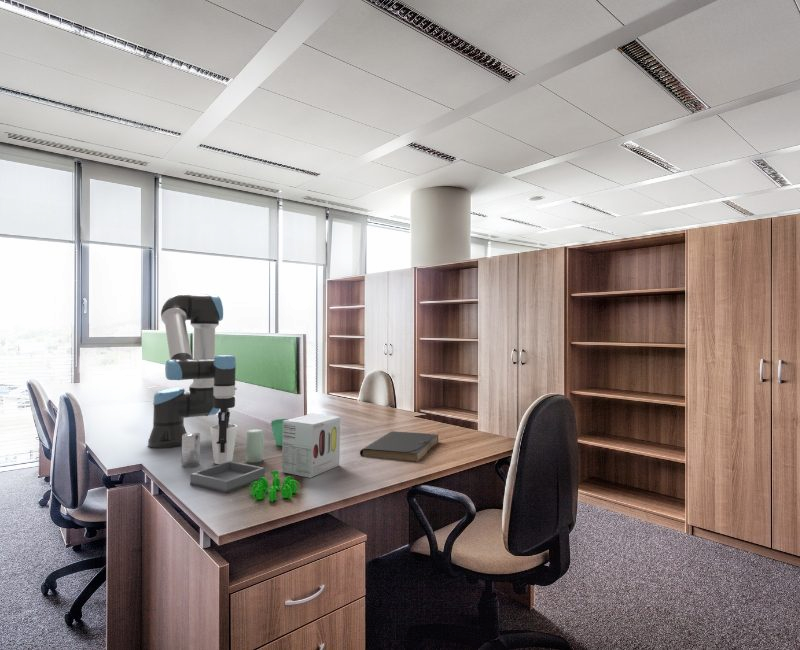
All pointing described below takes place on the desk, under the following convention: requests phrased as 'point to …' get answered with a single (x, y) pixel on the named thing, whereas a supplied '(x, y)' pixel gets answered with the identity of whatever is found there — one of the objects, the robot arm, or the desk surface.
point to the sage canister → (254, 446)
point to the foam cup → (230, 442)
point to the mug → (278, 430)
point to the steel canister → (190, 450)
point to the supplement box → (310, 444)
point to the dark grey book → (401, 446)
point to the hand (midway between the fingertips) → (223, 457)
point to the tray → (227, 476)
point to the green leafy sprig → (274, 487)
